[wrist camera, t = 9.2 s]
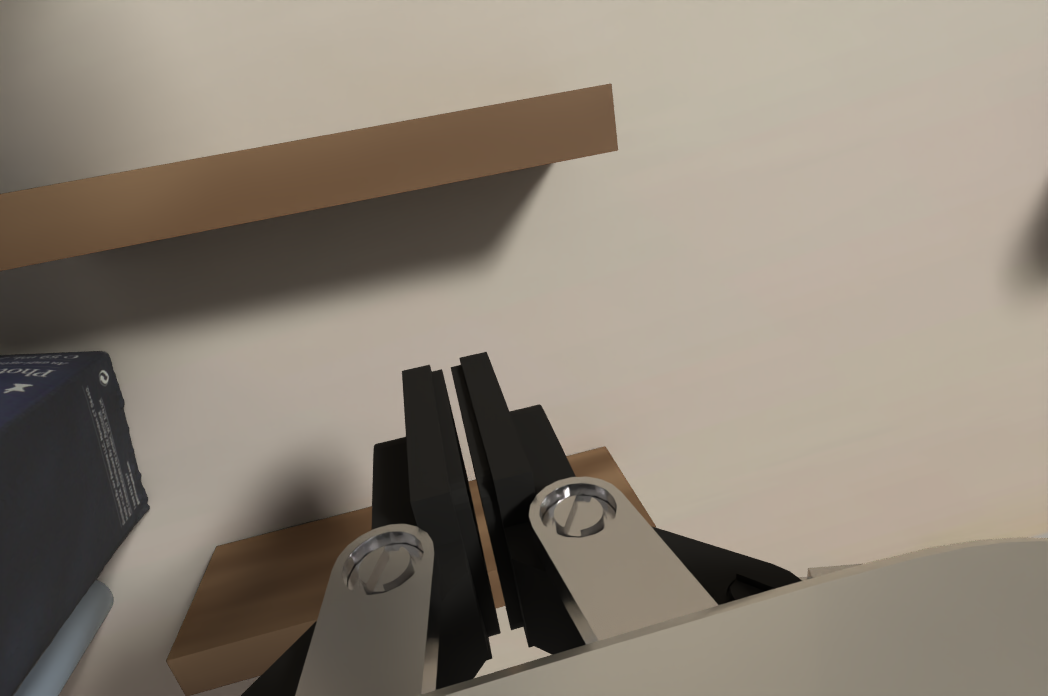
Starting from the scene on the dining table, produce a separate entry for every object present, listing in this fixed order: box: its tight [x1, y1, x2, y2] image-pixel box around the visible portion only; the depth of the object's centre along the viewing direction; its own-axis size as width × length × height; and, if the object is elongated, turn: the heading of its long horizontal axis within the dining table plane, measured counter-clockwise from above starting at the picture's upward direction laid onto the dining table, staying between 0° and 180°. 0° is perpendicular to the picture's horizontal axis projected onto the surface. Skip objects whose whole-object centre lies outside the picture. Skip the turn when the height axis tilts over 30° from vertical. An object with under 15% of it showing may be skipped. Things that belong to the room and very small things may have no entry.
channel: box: [0, 84, 656, 696], centre depth 18 cm, size 14×15×5 cm
